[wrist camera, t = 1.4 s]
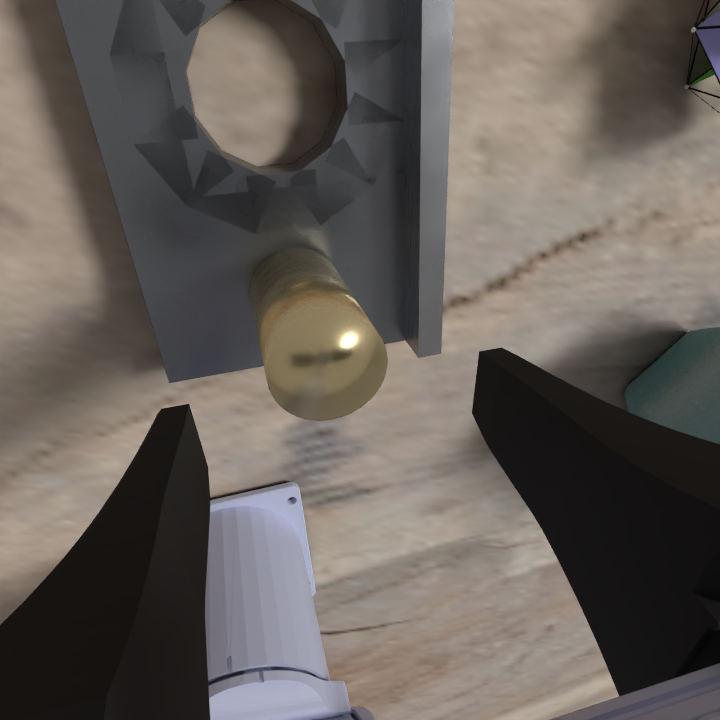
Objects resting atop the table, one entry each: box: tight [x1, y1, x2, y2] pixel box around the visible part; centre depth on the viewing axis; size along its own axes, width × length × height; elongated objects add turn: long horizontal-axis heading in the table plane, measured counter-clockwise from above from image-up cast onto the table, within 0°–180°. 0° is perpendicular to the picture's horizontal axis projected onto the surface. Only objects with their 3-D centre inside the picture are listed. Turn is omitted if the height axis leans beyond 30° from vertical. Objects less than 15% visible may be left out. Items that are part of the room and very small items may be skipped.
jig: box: [55, 0, 454, 383], centre depth 18 cm, size 14×11×3 cm
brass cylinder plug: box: [250, 248, 387, 421], centre depth 17 cm, size 4×4×6 cm
